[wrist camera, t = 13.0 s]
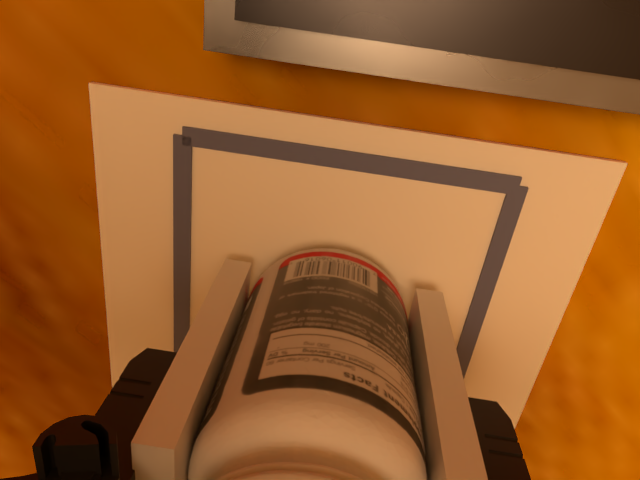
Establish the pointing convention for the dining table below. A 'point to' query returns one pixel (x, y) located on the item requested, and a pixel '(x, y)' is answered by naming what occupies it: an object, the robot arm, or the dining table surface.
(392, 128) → the print card
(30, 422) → the dining table surface
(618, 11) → the ink pad
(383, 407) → the pill bottle
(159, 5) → the dining table surface
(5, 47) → the dining table surface
